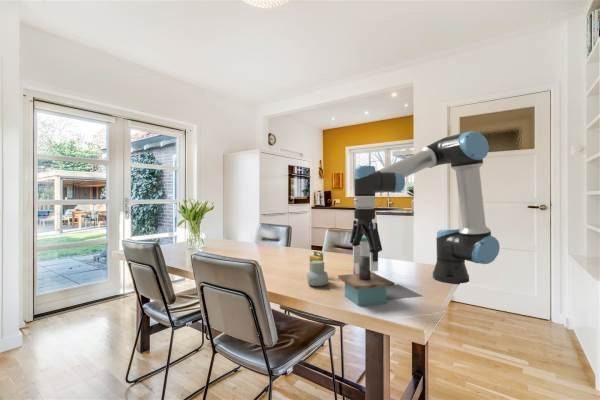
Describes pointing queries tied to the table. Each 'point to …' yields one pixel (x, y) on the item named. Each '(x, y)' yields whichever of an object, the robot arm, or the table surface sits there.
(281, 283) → the table surface
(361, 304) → the teal storage bin
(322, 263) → the air freshener
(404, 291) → the mat
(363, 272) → the lid
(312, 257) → the crayon box
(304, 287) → the table surface
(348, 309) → the table surface
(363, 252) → the milk bottle
